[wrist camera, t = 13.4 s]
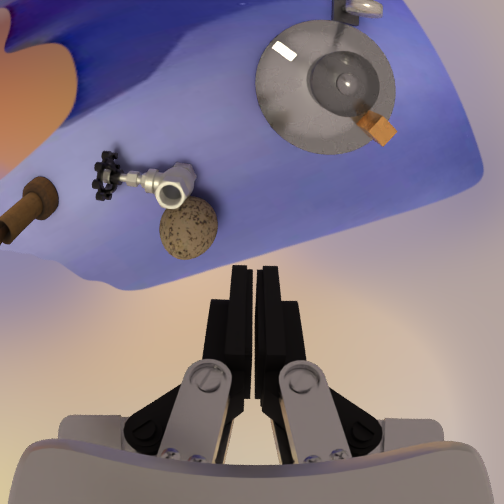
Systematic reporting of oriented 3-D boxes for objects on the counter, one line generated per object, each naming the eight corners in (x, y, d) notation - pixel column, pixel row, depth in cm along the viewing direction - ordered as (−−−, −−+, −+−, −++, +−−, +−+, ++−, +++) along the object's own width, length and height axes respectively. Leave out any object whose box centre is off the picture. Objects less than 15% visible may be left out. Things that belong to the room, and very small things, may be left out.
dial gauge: (329, -7, 22) (352, -27, 15) (358, -1, 22) (388, -17, 15) (328, 21, 25) (352, 7, 18) (358, 26, 25) (388, 17, 18)
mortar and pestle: (24, 183, 36) (-47, 245, 21) (49, 171, 35) (-29, 235, 20) (39, 217, 39) (-23, 286, 25) (64, 208, 39) (-2, 282, 24)
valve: (201, 153, 35) (114, 143, 34) (191, 170, 29) (90, 159, 28) (195, 199, 39) (114, 188, 37) (185, 224, 33) (93, 210, 32)
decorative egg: (211, 239, 42) (202, 285, 34) (164, 224, 41) (143, 267, 32) (227, 196, 38) (220, 236, 30) (176, 179, 37) (154, 215, 29)
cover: (292, 80, 27) (298, 81, 23) (337, 40, 24) (349, 37, 20) (337, 124, 30) (348, 132, 26) (379, 86, 27) (395, 90, 23)
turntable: (226, 96, 29) (221, 100, 25) (314, -3, 22) (325, -16, 17) (332, 176, 35) (344, 194, 30) (413, 88, 27) (436, 94, 23)
